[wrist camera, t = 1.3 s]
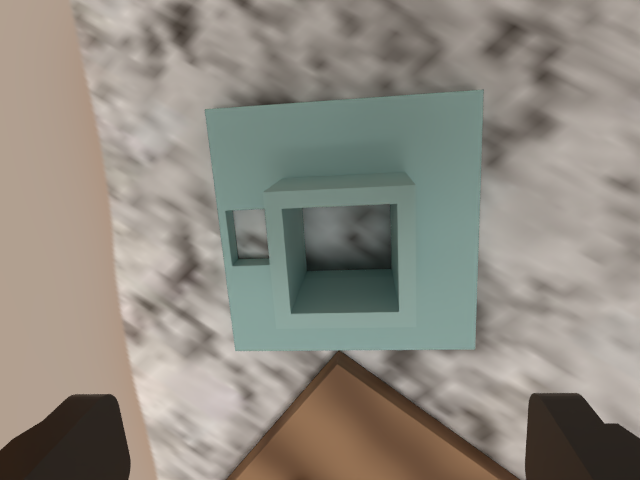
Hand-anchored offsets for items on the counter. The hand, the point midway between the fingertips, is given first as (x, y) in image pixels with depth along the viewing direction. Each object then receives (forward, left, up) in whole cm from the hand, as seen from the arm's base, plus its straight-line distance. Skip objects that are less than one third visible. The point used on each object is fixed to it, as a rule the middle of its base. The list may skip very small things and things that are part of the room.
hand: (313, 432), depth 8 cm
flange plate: (0, 0, -15) cm, 15 cm away
